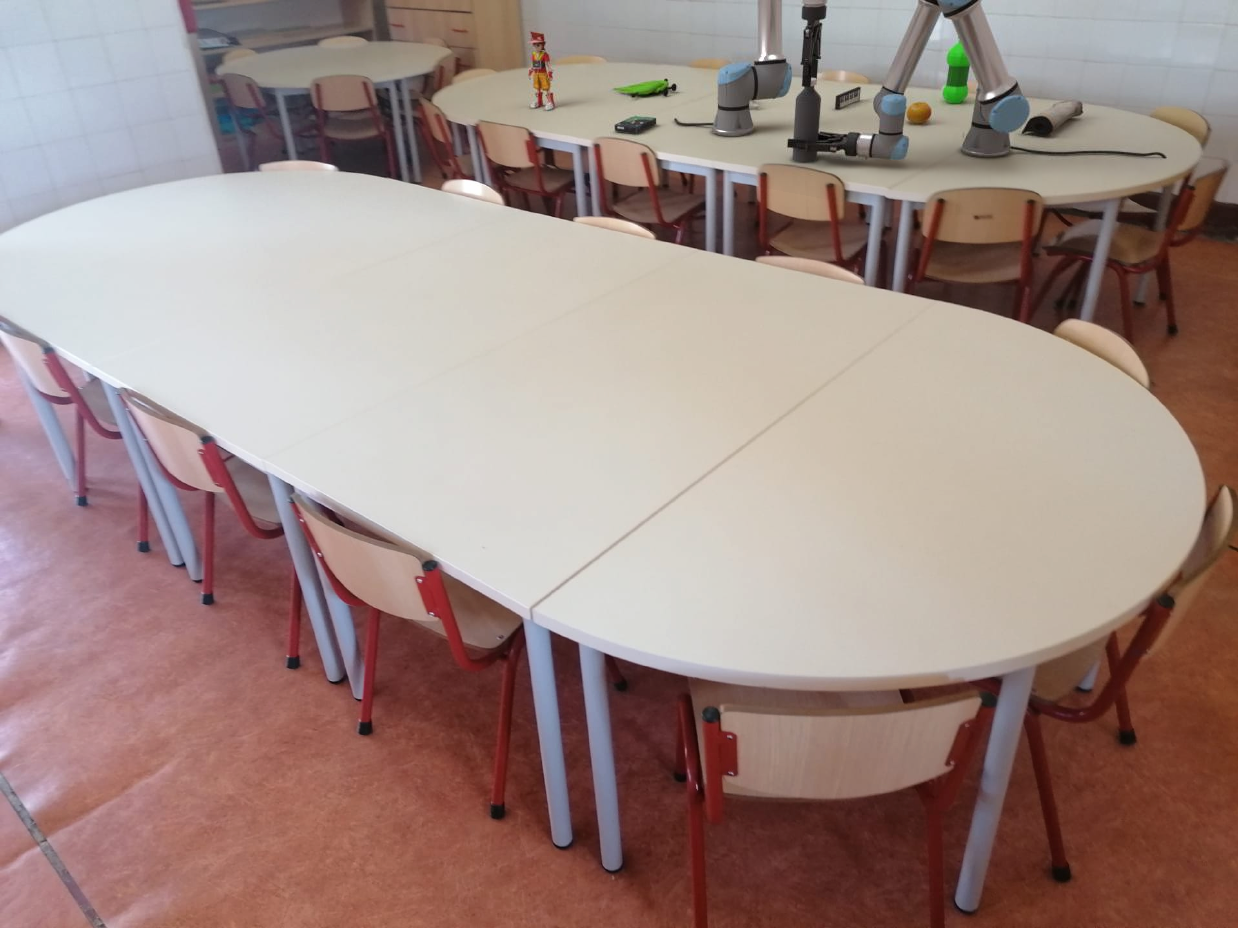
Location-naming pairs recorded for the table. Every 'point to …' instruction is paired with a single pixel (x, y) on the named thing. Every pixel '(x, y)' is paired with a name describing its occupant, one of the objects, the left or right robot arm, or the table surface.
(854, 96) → the midi keyboard
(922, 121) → the fruit
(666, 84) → the toy
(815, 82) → the cap
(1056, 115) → the rolled mat
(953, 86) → the plastic bottle
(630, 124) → the disk drive
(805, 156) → the bottle
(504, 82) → the table surface
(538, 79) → the toy
